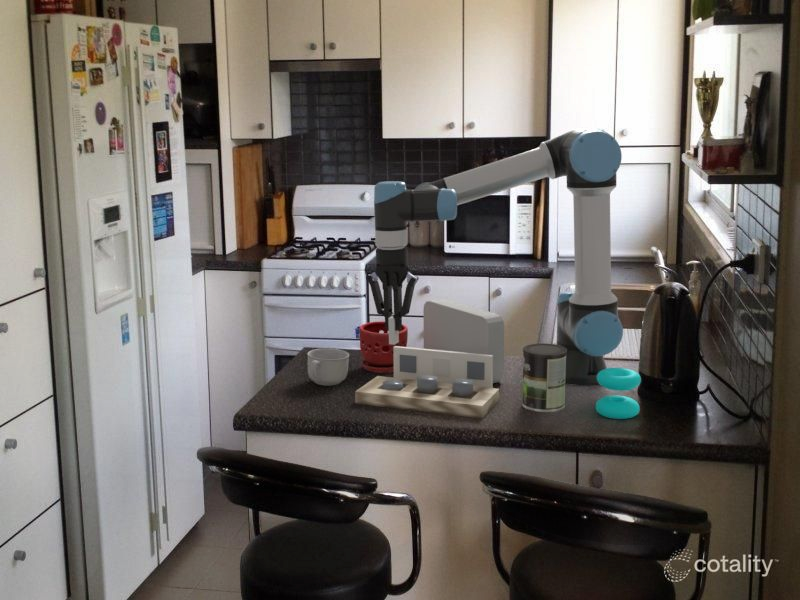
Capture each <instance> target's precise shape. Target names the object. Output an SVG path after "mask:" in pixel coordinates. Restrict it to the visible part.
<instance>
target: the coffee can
mask: <svg viewBox="0 0 800 600" xmlns="http://www.w3.org/2000/svg"><path fill="white" fill-rule="evenodd" d="M522 352H523V353H522V354H523V358H522V361H523V363H522V367H523V369H522V403H521V405H522V407H523V408H524V409H526V410H528V411H531V412H535V413H536V412H537V413H555V412H560V411H563V409H565V406H566V404H565V402H566V401H565V399H566V384H565V376H566V354H567V349H566V348H565V347H563V346H560V345H557V344H554V343H543V342H542V343H531V344H527V345H525V346H523V348H522Z"/></svg>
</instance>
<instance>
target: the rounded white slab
mask: <svg viewBox="0 0 800 600" xmlns="http://www.w3.org/2000/svg"><path fill="white" fill-rule="evenodd" d="M422 311H423V349H433V350H443V351H454V352H465V353H475V354H486V355H493V384H495V383H500V382H501V381H502V380H503V379H504V375H505V373H504V371H505V370H504V369H505V367H504V366H505V322H504V321H505V320H504V319H503V317H502V316H501V314H499V313H496V312H492V311H488V310H484V309H481V308H478V307H474V306H470V305H468V304H464V303H460V302H456V301H453V300H450V299H446V298H440V299H433V300H428V301H427V300H426V301H425V303H424V304H423V310H422Z"/></svg>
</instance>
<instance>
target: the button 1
mask: <svg viewBox="0 0 800 600" xmlns="http://www.w3.org/2000/svg"><path fill="white" fill-rule="evenodd" d="M383 389H386V390H395V391H401V390H402V389H403V382H402V381H400V380H386V381H384V382H383Z"/></svg>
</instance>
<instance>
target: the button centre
mask: <svg viewBox="0 0 800 600" xmlns="http://www.w3.org/2000/svg"><path fill="white" fill-rule="evenodd" d="M417 391H418V392H421V393H434V392H437V391H438V378H437V377H436V376H431V375H423V376H419V377H417Z"/></svg>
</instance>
